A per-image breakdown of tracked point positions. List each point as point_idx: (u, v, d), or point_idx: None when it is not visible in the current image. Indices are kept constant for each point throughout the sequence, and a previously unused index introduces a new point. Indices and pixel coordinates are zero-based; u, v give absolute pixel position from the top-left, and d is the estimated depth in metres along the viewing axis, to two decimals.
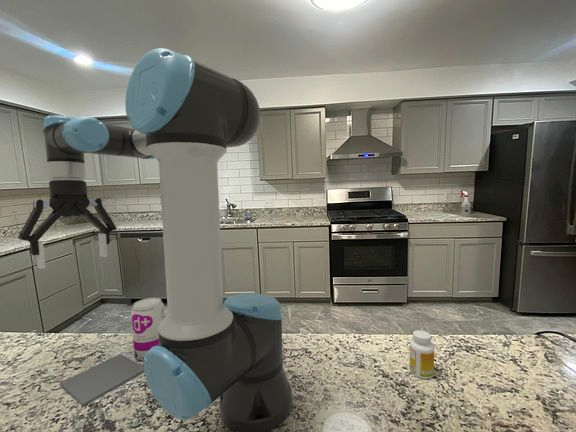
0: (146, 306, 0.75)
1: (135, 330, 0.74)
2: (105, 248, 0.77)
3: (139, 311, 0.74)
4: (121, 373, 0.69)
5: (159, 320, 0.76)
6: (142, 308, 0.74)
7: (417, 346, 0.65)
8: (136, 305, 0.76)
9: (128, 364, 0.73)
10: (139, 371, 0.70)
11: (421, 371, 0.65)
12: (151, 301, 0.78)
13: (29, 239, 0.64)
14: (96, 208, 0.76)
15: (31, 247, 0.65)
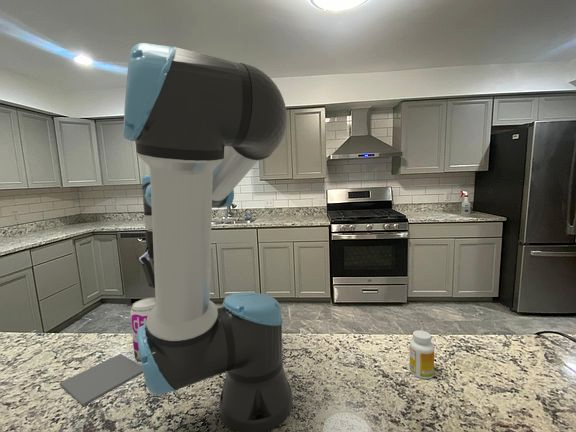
0: (145, 306, 0.75)
1: (134, 330, 0.74)
2: None
3: (139, 311, 0.73)
4: (121, 373, 0.69)
5: None
6: (141, 308, 0.74)
7: (417, 346, 0.65)
8: (135, 305, 0.76)
9: (128, 364, 0.73)
10: (139, 371, 0.70)
11: (421, 371, 0.65)
12: (150, 301, 0.78)
13: None
14: None
15: None
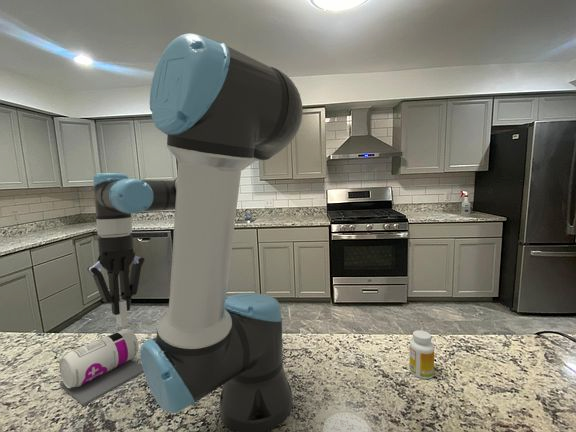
0: (71, 376, 0.62)
1: None
2: (125, 316, 0.71)
3: (77, 382, 0.62)
4: (121, 373, 0.69)
5: (93, 355, 0.65)
6: (74, 381, 0.62)
7: (417, 346, 0.65)
8: (68, 384, 0.63)
9: (128, 364, 0.73)
10: (139, 371, 0.70)
11: (421, 371, 0.65)
12: (64, 367, 0.64)
13: (112, 301, 0.69)
14: (134, 266, 0.74)
15: (113, 307, 0.70)
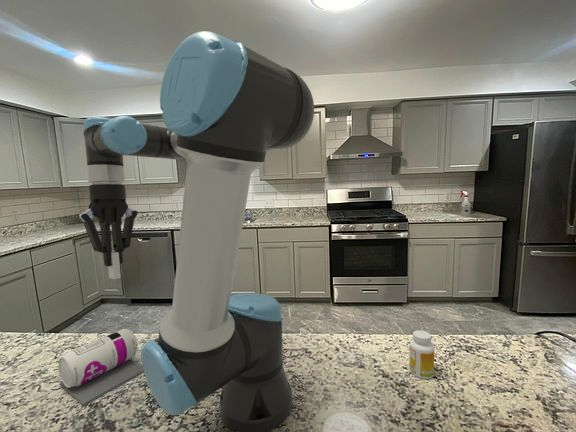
0: (70, 375, 0.62)
1: (101, 373, 0.68)
2: (118, 268, 0.69)
3: (77, 381, 0.62)
4: (121, 373, 0.69)
5: (92, 353, 0.66)
6: (73, 379, 0.62)
7: (417, 346, 0.65)
8: (68, 384, 0.63)
9: (128, 364, 0.73)
10: (139, 371, 0.70)
11: (421, 371, 0.65)
12: (63, 367, 0.64)
13: (104, 251, 0.67)
14: (127, 219, 0.72)
15: (105, 258, 0.68)
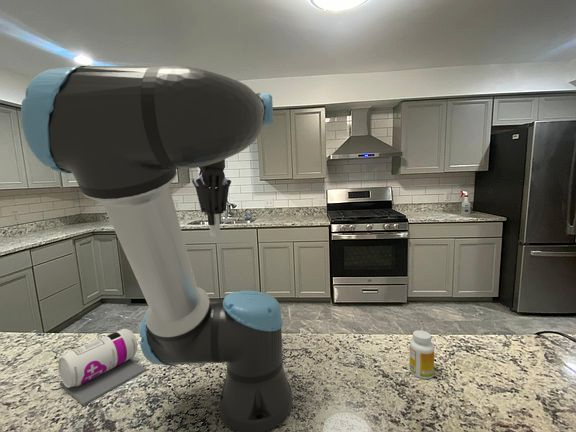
0: (70, 375, 0.62)
1: (101, 373, 0.68)
2: (219, 228, 0.81)
3: (77, 380, 0.63)
4: (121, 373, 0.69)
5: (92, 353, 0.66)
6: (73, 379, 0.62)
7: (417, 346, 0.65)
8: (68, 384, 0.63)
9: (128, 364, 0.73)
10: (139, 371, 0.70)
11: (421, 371, 0.65)
12: (63, 367, 0.64)
13: (209, 212, 0.79)
14: (223, 186, 0.84)
15: (210, 218, 0.80)
